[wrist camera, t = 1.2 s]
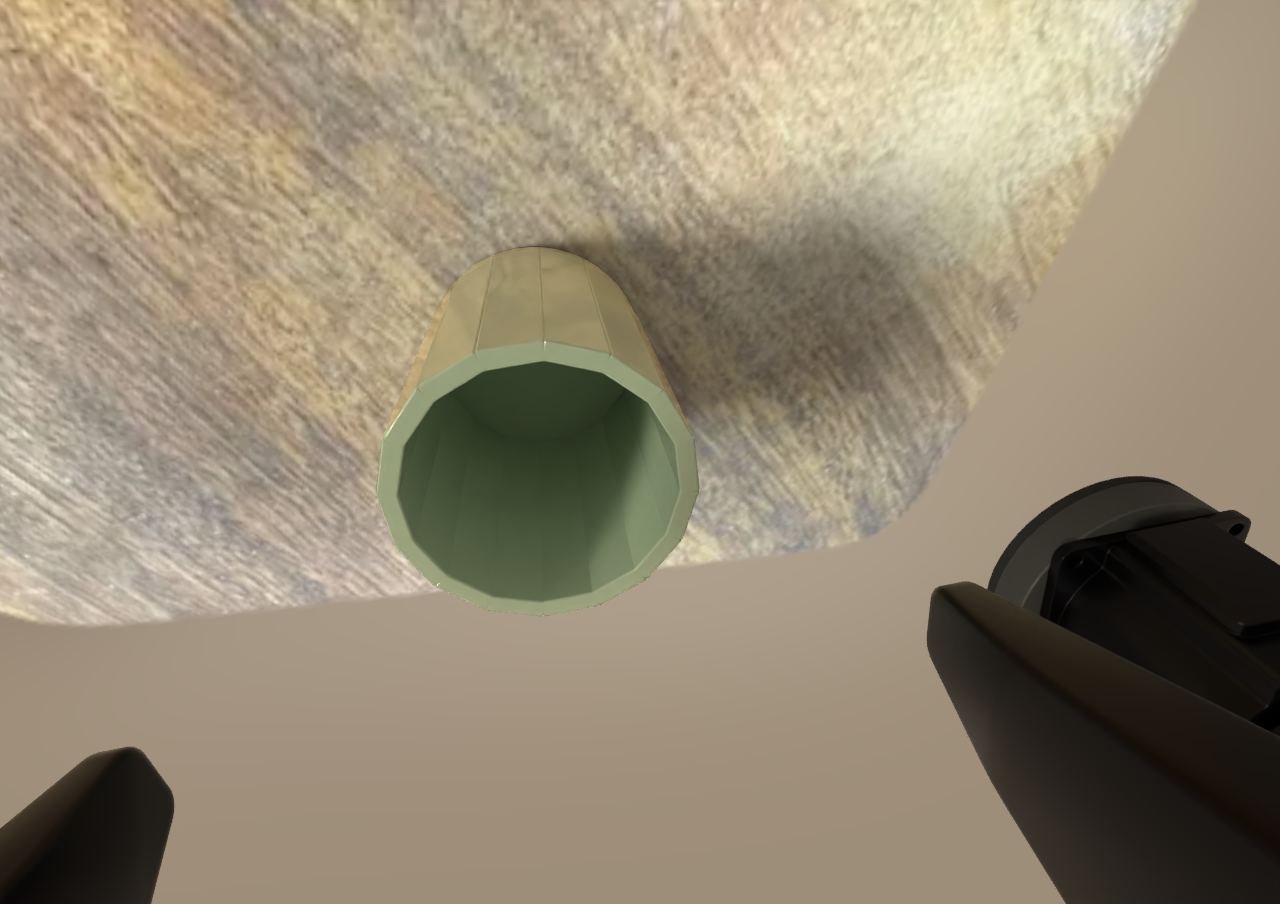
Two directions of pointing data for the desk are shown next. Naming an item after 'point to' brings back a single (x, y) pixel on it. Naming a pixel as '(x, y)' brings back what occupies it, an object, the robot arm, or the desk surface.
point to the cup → (536, 441)
